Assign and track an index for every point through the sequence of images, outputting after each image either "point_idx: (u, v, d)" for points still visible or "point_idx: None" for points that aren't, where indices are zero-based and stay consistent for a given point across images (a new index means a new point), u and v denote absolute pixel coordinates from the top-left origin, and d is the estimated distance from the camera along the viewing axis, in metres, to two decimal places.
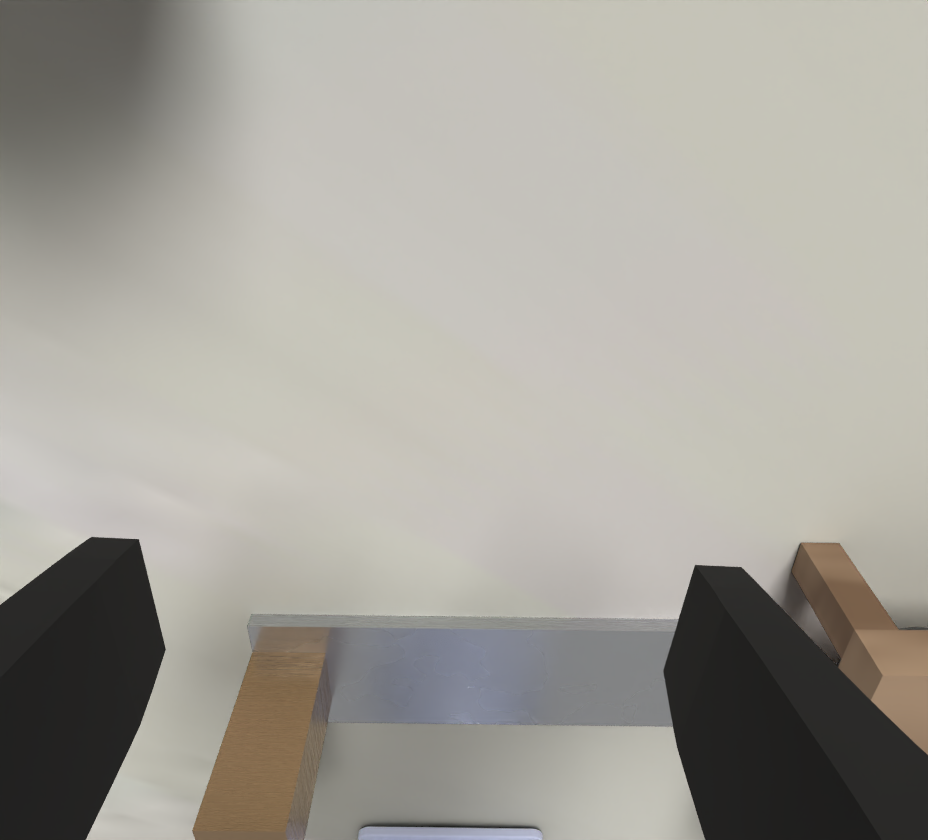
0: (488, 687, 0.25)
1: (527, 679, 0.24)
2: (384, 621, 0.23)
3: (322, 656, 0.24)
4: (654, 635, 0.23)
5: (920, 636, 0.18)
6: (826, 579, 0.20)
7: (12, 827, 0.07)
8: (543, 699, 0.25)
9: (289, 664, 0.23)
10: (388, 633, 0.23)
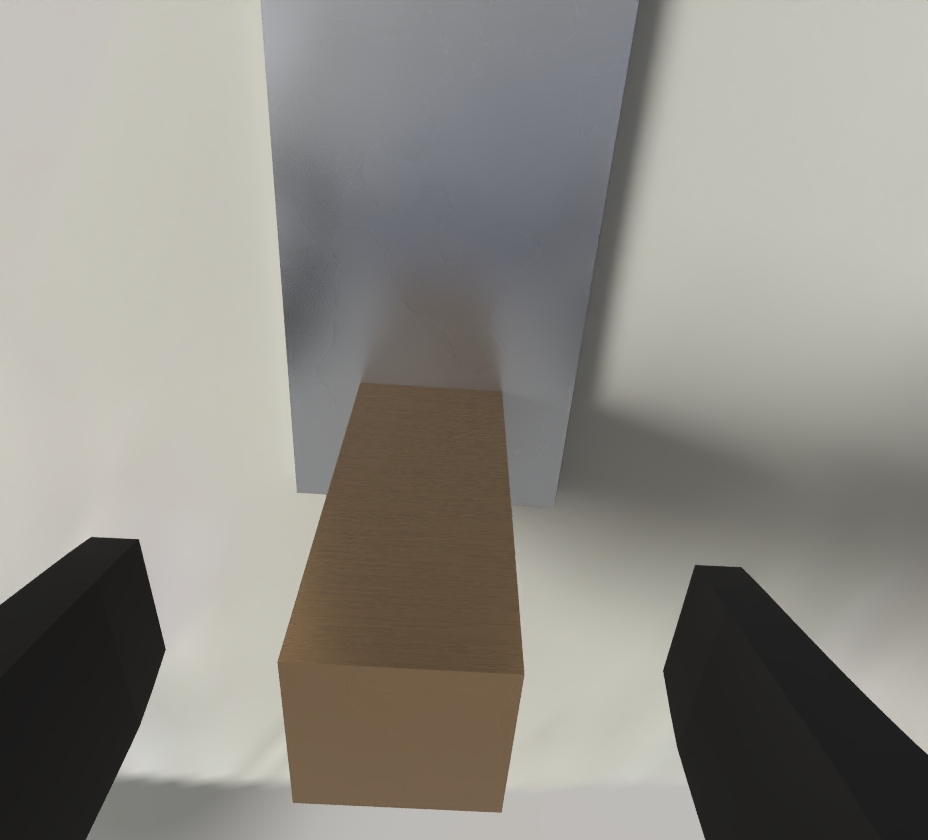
0: (481, 18, 0.09)
1: None
2: (284, 257, 0.11)
3: (359, 390, 0.12)
4: None
5: None
6: None
7: (12, 829, 0.07)
8: None
9: None
10: (299, 255, 0.11)
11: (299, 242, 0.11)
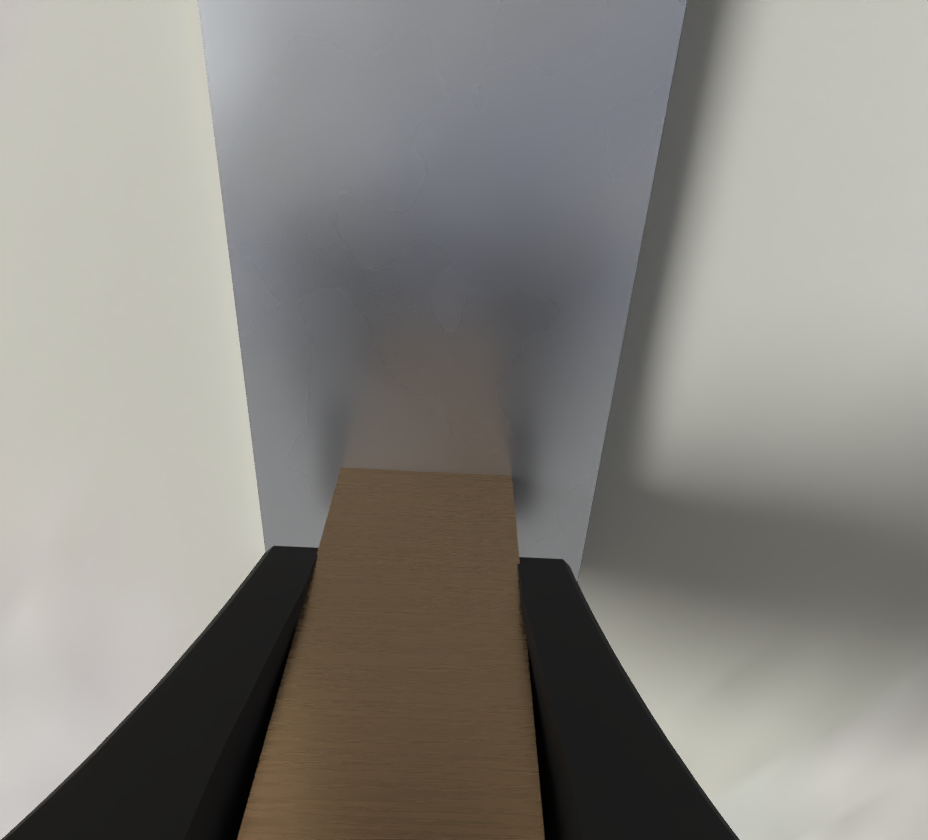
0: (482, 31, 0.07)
1: None
2: (244, 323, 0.09)
3: None
4: None
5: None
6: None
7: None
8: None
9: None
10: (262, 322, 0.09)
11: (261, 307, 0.09)
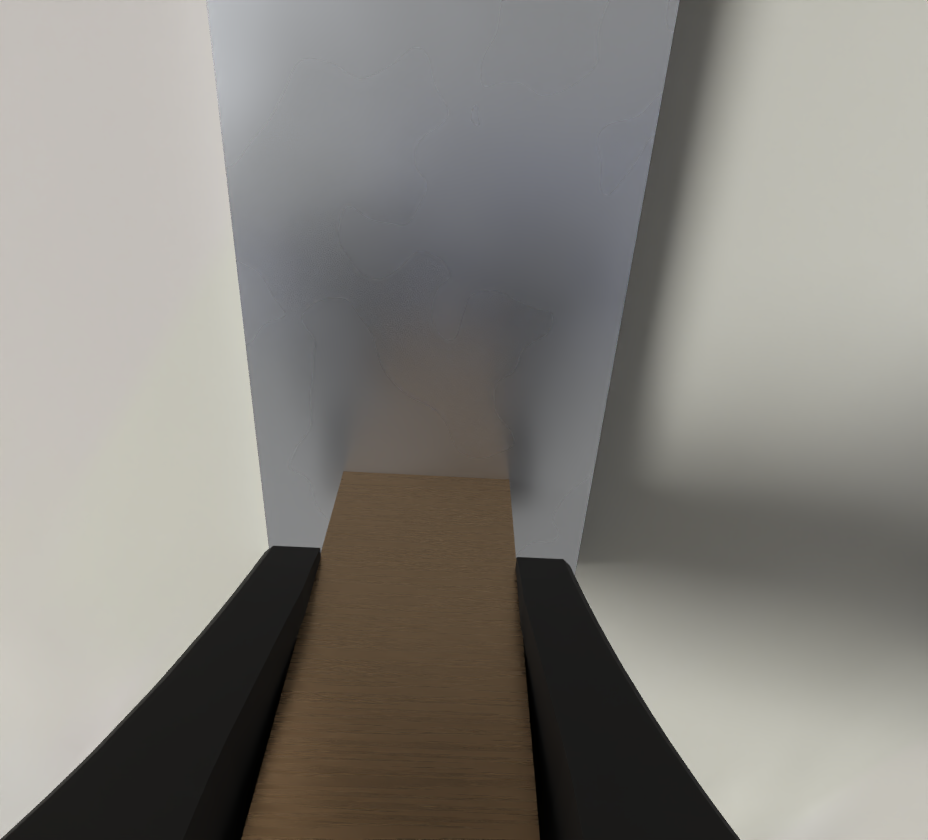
0: (480, 54, 0.08)
1: None
2: (251, 331, 0.10)
3: (342, 481, 0.10)
4: None
5: None
6: None
7: None
8: None
9: None
10: (268, 330, 0.09)
11: (267, 316, 0.09)
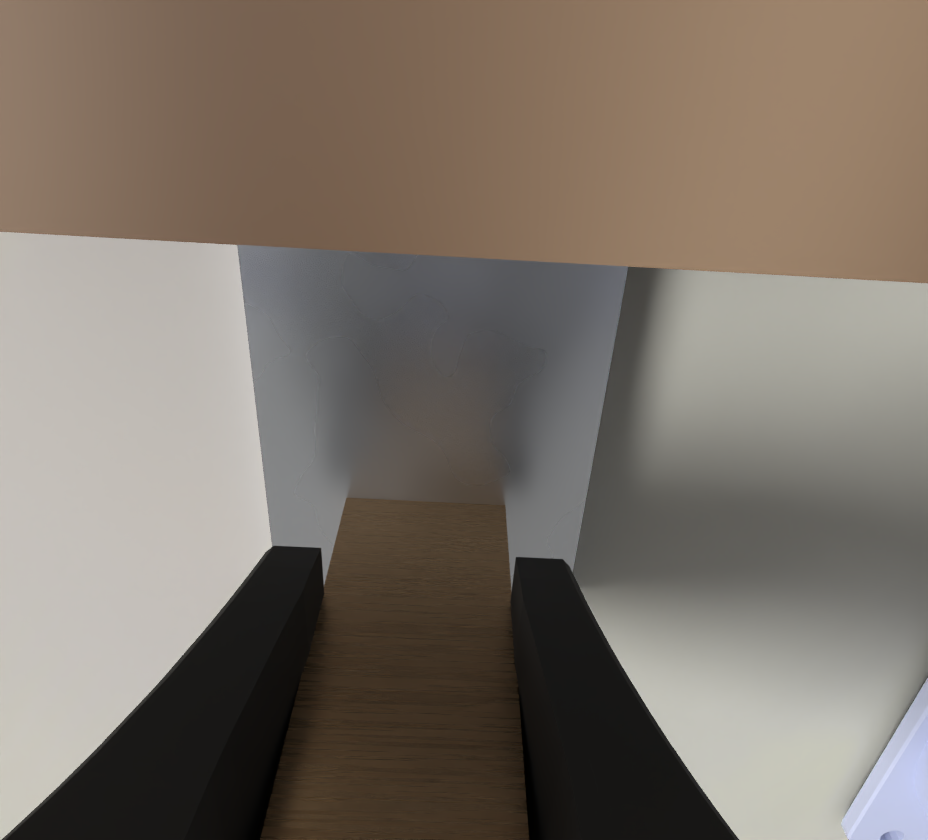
0: None
1: None
2: (257, 366, 0.10)
3: (345, 507, 0.11)
4: None
5: None
6: None
7: (252, 837, 0.07)
8: None
9: None
10: (274, 367, 0.10)
11: (273, 354, 0.10)
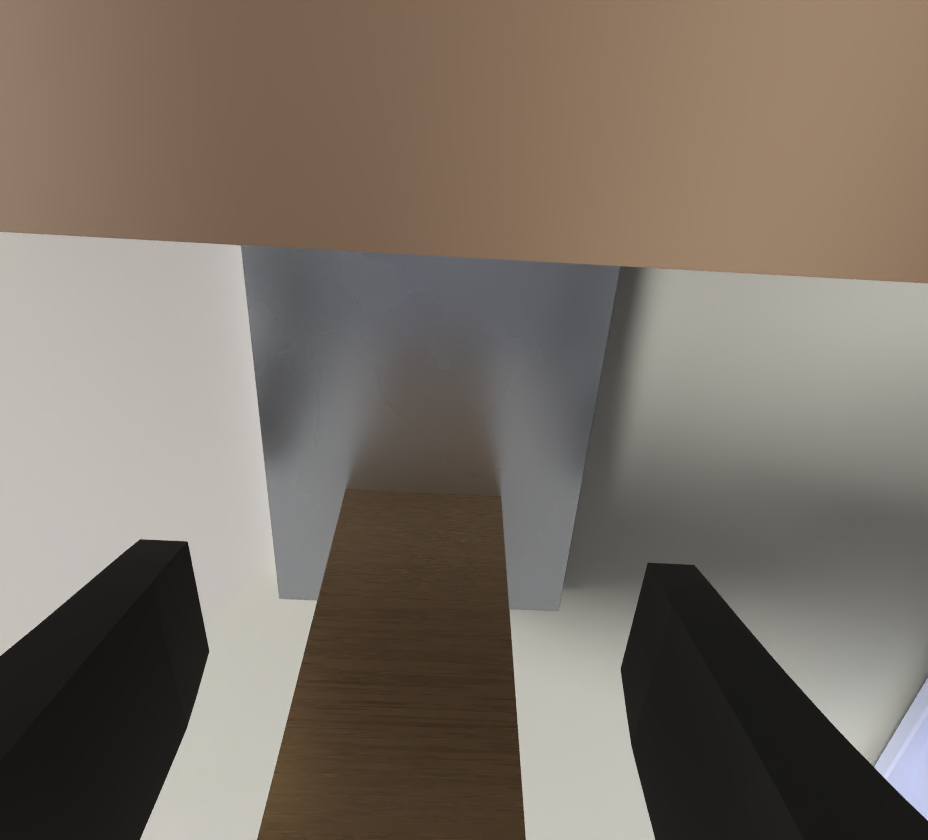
0: None
1: None
2: (260, 360, 0.10)
3: (345, 498, 0.11)
4: None
5: None
6: None
7: (76, 830, 0.07)
8: None
9: None
10: (276, 360, 0.10)
11: (275, 347, 0.10)
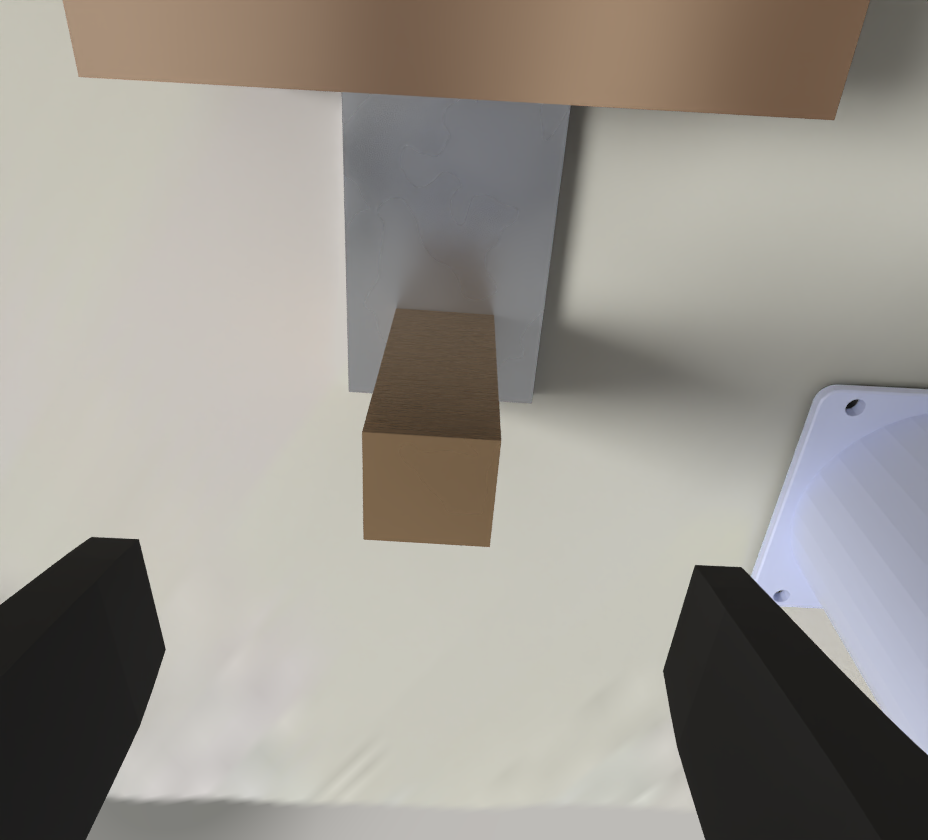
0: None
1: None
2: (347, 220, 0.17)
3: None
4: None
5: None
6: None
7: (13, 828, 0.07)
8: None
9: None
10: (358, 218, 0.16)
11: (358, 209, 0.16)
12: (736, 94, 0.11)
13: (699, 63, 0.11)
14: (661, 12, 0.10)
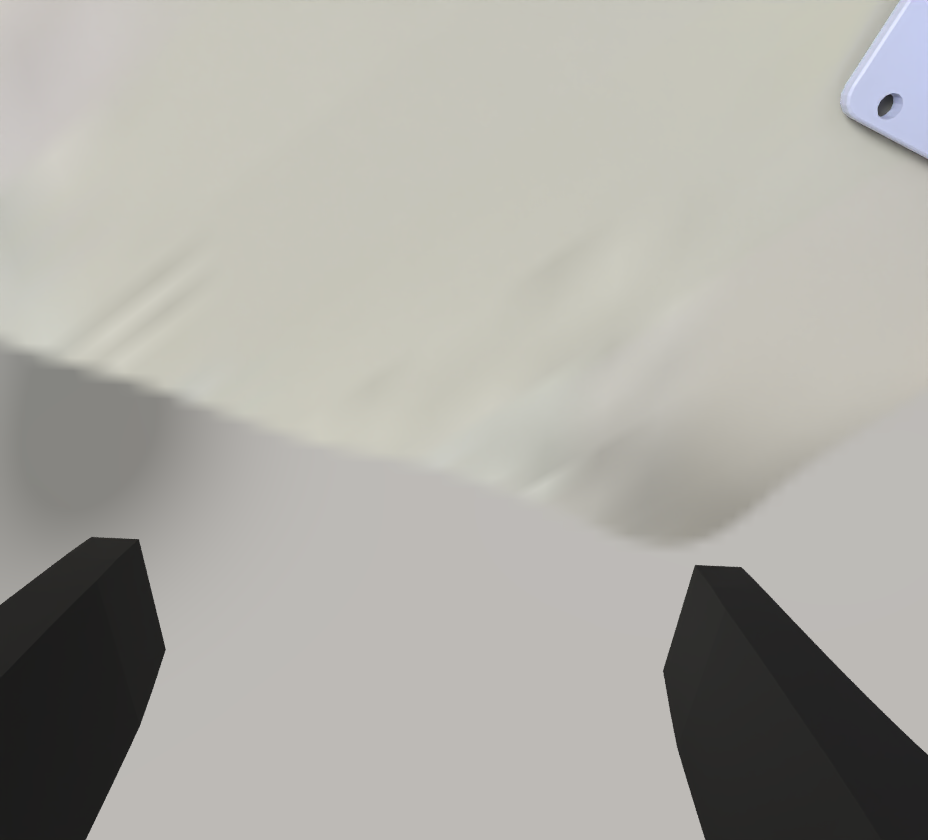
0: None
1: None
2: None
3: None
4: None
5: None
6: None
7: (13, 827, 0.07)
8: None
9: None
10: None
11: None
12: None
13: None
14: None
